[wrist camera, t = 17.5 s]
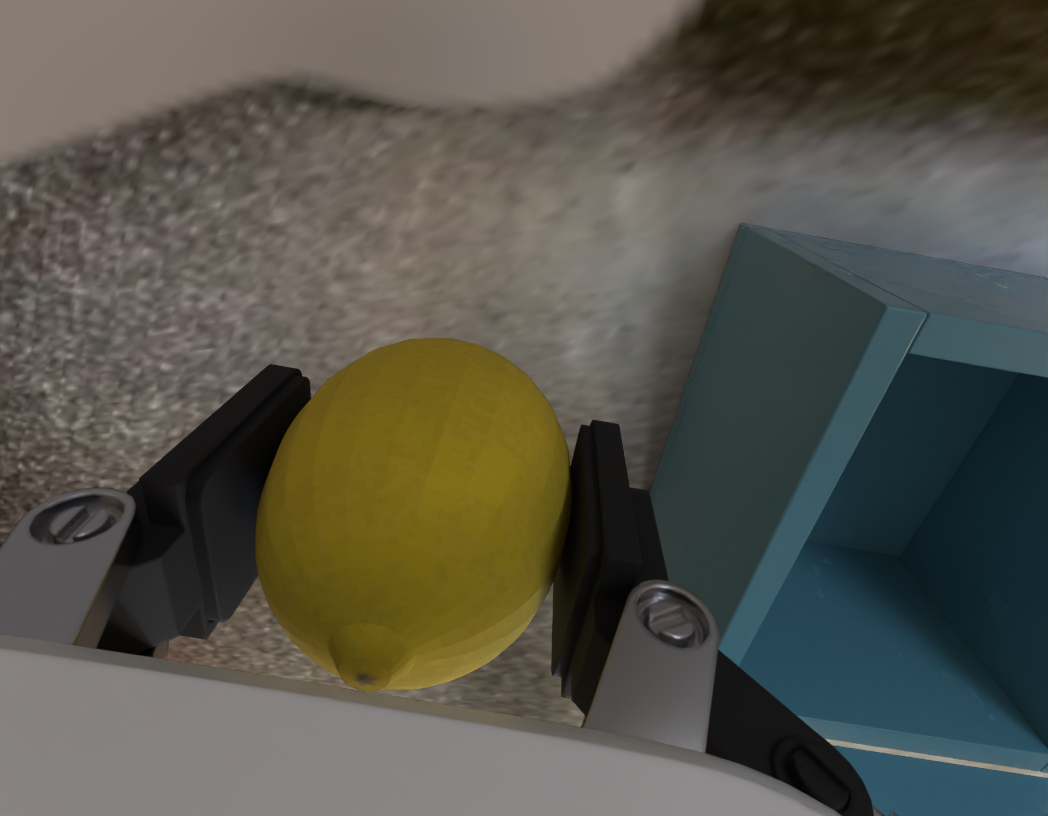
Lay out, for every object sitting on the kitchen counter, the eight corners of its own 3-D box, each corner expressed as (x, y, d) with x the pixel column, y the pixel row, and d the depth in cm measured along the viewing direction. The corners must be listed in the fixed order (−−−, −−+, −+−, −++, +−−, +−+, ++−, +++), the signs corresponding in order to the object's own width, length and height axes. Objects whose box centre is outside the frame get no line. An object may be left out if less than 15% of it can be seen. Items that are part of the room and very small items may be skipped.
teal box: (739, 222, 20) (886, 305, 11) (1079, 283, 20) (1484, 411, 11) (640, 517, 26) (682, 717, 17) (898, 559, 26) (1065, 776, 18)
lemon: (400, 494, 16) (272, 804, 9) (321, 316, 13) (51, 553, 6) (589, 462, 15) (612, 781, 8) (542, 264, 12) (514, 474, 5)
